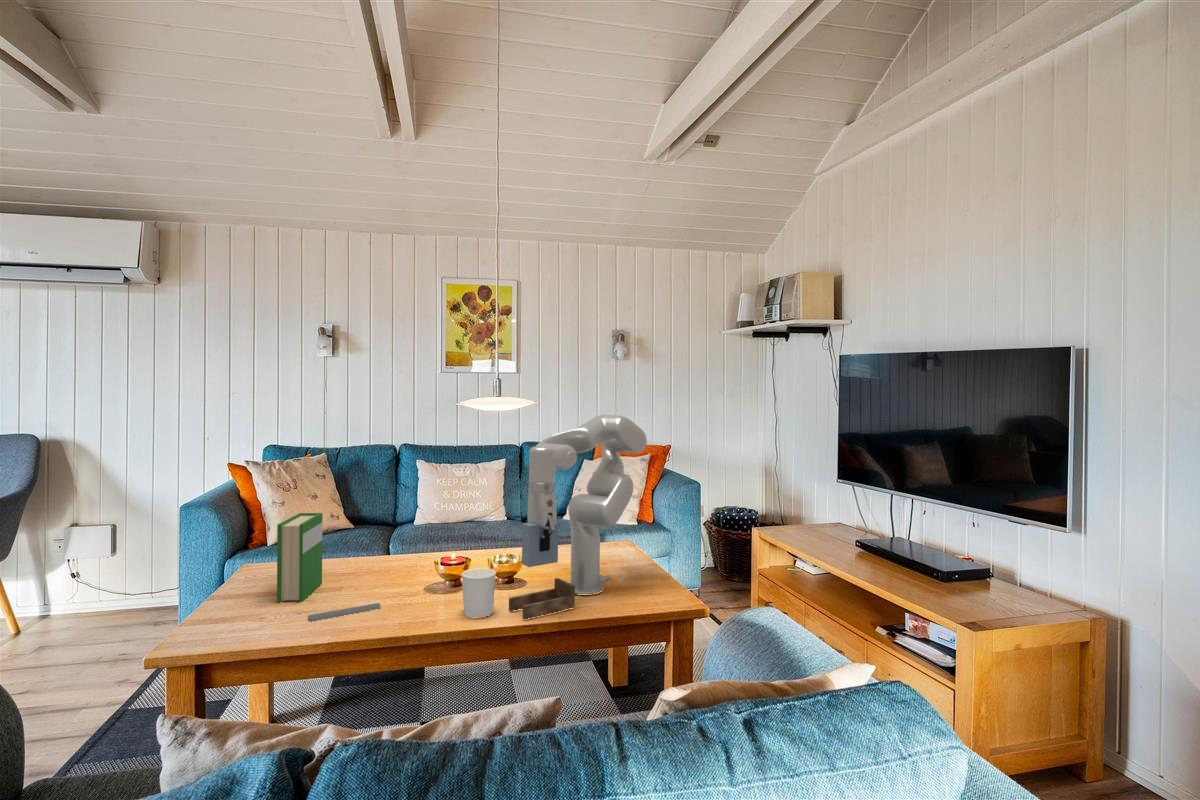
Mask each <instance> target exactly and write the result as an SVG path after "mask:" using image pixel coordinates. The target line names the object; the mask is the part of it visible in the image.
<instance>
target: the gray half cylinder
mask: <svg viewBox="0 0 1200 800" xmlns="http://www.w3.org/2000/svg"><path fill="white" fill-rule="evenodd" d="M375 609H379V610H381V603H380V602H375V603H371V604H365V605H360V606H353V607H347V608H343V609H336V610H330V611H325V612H318V613H313V614H308V616H307V617H308V619H309V621H310V622H311V623H313V622H318V621H317V620H319V621H323V620H322V619H324V620H329V619H328V618H330V619H334V618H333V617H335V618H339V617H338V616H341V617H344V615H346V616H350V615H349V614H352V615H355V614H354V613H357V614H360V613H359V612H363V613H365V612H364V611H368V612H371V611H370V610H374V611H376V610H375ZM312 621H313V622H312Z"/></svg>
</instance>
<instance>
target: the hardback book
mask: <svg viewBox="0 0 1200 800" xmlns="http://www.w3.org/2000/svg"><path fill="white" fill-rule="evenodd" d="M276 526H277V528H276V529H277V531H276V532H277V536H276V537H277V538H276V539H277V541H276V545H277V546H276V548H277V549H276V550H277V551H276V552H277V553H276V557H277V558H276V604H281V603H282V602H284V601H299V602H303V601H304V600H305V599H306V600H307V599H308V598H309V597H311V595H313V594H314V593H315V592H316V591H317V590H318V589H319V588H320V587H321V586H322V585H323V512H299V513H297V514H295V515H293V516H291V517H289V518H287V519H285V520H284V521H282V522H279V523H278V524H276ZM321 584H322V585H321ZM320 585H321V586H320ZM318 587H319V588H318ZM317 588H318V589H317ZM316 589H317V590H316ZM315 590H316V591H315ZM314 591H315V592H314ZM313 592H314V593H313ZM312 593H313V594H312ZM308 596H309V597H308ZM306 600H305V601H306ZM281 601H282V602H281ZM305 601H304V602H305ZM280 602H281V603H280ZM304 602H303V603H304Z"/></svg>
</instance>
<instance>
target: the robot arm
mask: <svg viewBox="0 0 1200 800" xmlns="http://www.w3.org/2000/svg"><path fill="white" fill-rule="evenodd" d="M647 442H648V440H647V435H646V433H645V432H644V430H643V429H642V428H641V427H640V426H638V425H637V424H636V423H634V422H633V421H632V420H631V419H629V418H628V417H626V416H623V415H615V414H614V415H613V414H612V415H611V414H600V415H596V416H594V417H593V418H591V419H589V420H587V421H586V422H585V423H583V424H580V425H579V426H578V427H576V428H573V429H570V430H569V429H568V430H565V431H562V432H558V433H556V434H553V435H549V436H548V437H546V438H544V439H542V440H541V441H540V442H538V443H537V444H536V445H535V446H532V447H530V449H529V457H528V459H529V460H528V461H529V462H528V463H529V465H528V466H529V467H528V501H527V523H531V522H532V523H534V524H537V525H539V527H540V528H541V538H540V551H541V552H542V551H549V550H550V537H551V534H552V532H553V531H554V530H555V527H554V526H556V525H557V522H558V520H557V519H558V517H557V515H558V514H557V513H558V511H557V500H556V499H557V498H556V494H555V470H569V469H570V468H573V467H574V465H575V464H576V462H577V460H578V454H582V453H587V452H590V451H592V450H593V449H594V448H597V447H598V446H599V445H600V448H601V459H600V462H599V464H598V466H597V467H596V469H595V470H594V472H593V474H592V475H591V477H590V478H589V480H588V482H587V484H586V492H587V493H579V494H577V495H576V494H575V495H574V496H572V498H571V499H570V501H569V503H568V508H567V509H568V517H569V522H570V533H571V534H570V582H569V583H570V584H572V585H574V586H575V594H593V593H597V592H600V591H602V590H603V589H604V590H605V586H604V585H603V584H604V582H609V581H612V576H611V575H610V574H607V575H606V574H605V575H604V574H600V573H601V572H600V570H601V569H600V568H601V567H600V565H601V563H600V562H601V557H600V556H601V555H600V554H601V536H600V531H599V529H598V527H605V528H610V527H614V526H615V525H616V524H617V523H618V522H619V520H620V518H621V517H622V515H623V513H624V511H625V510H626V508H627V507H628V504H629V502H630V501H631V498H632V497H633V493H634V482H633V480H632V478H631V477H630V476H629V475H628V474H626V473H624V471H625V470H624V468H625V467H624V463H623V460H622V458H621V456H620V453H629V454H630V453H631V454H638V453H642V452H643V451H644V450H645V449H646V446H647V444H648V443H647ZM545 525H547V527H545ZM544 529H547V530H546V531H545V532H544Z"/></svg>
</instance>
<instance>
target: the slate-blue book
mask: <svg viewBox="0 0 1200 800" xmlns="http://www.w3.org/2000/svg"><path fill="white" fill-rule="evenodd" d="M545 527H547V525H545ZM554 527H555V530H554V531H553V532H552V534H551V537H550V550H549V551H542V552H541V551H540V538H541V528H540V527H539V525H537V524H534V523H532V522H531V523H528V522H525V523H522V531H521V533H522V535H521V536H522V539H521V542H522V543H521V564H522V565H523V566H525V567H527V568H533V567H538V566H544V565H551V564H555V563H558V562H559V522H558V521H557V525H556V526H554ZM546 530H547V529H544V532H545V531H546Z"/></svg>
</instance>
